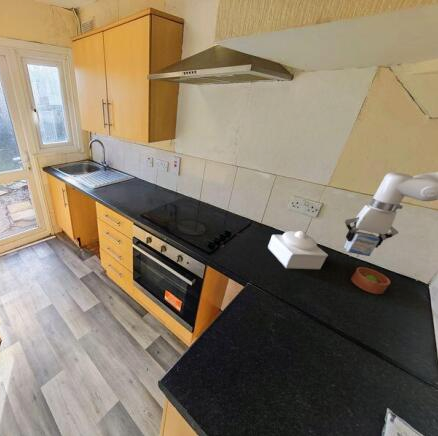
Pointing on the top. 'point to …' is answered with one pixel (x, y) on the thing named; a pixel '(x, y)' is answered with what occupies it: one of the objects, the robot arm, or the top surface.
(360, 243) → the medicine box
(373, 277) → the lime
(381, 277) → the bowl
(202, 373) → the top surface
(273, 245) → the butter dish
